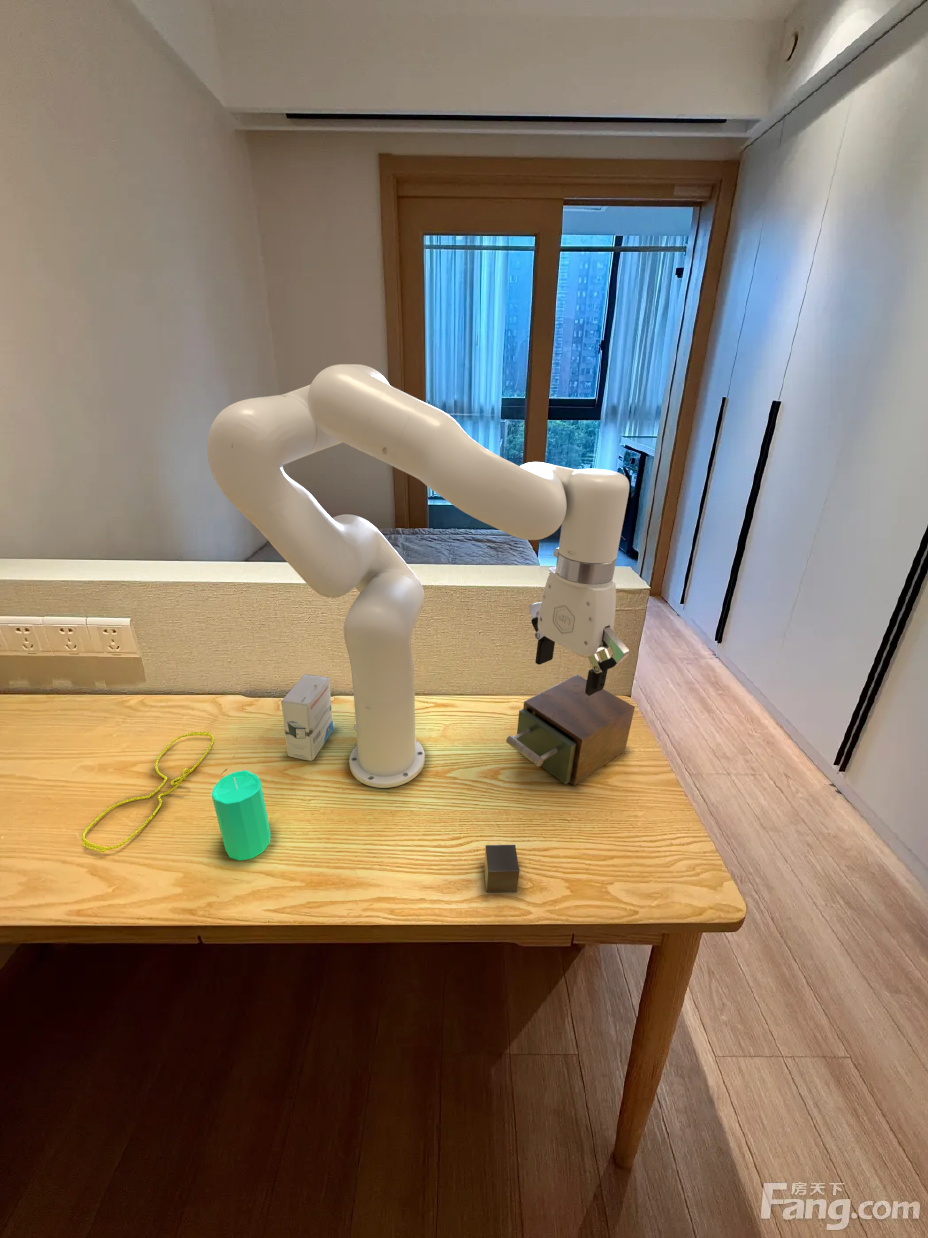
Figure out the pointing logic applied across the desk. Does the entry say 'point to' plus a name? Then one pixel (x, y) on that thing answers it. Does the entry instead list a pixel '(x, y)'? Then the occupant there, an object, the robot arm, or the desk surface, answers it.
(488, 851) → the block
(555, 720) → the cabinet
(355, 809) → the desk surface
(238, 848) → the candle
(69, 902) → the desk surface
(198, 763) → the yellow rope loop
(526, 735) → the drawer
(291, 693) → the ink box
